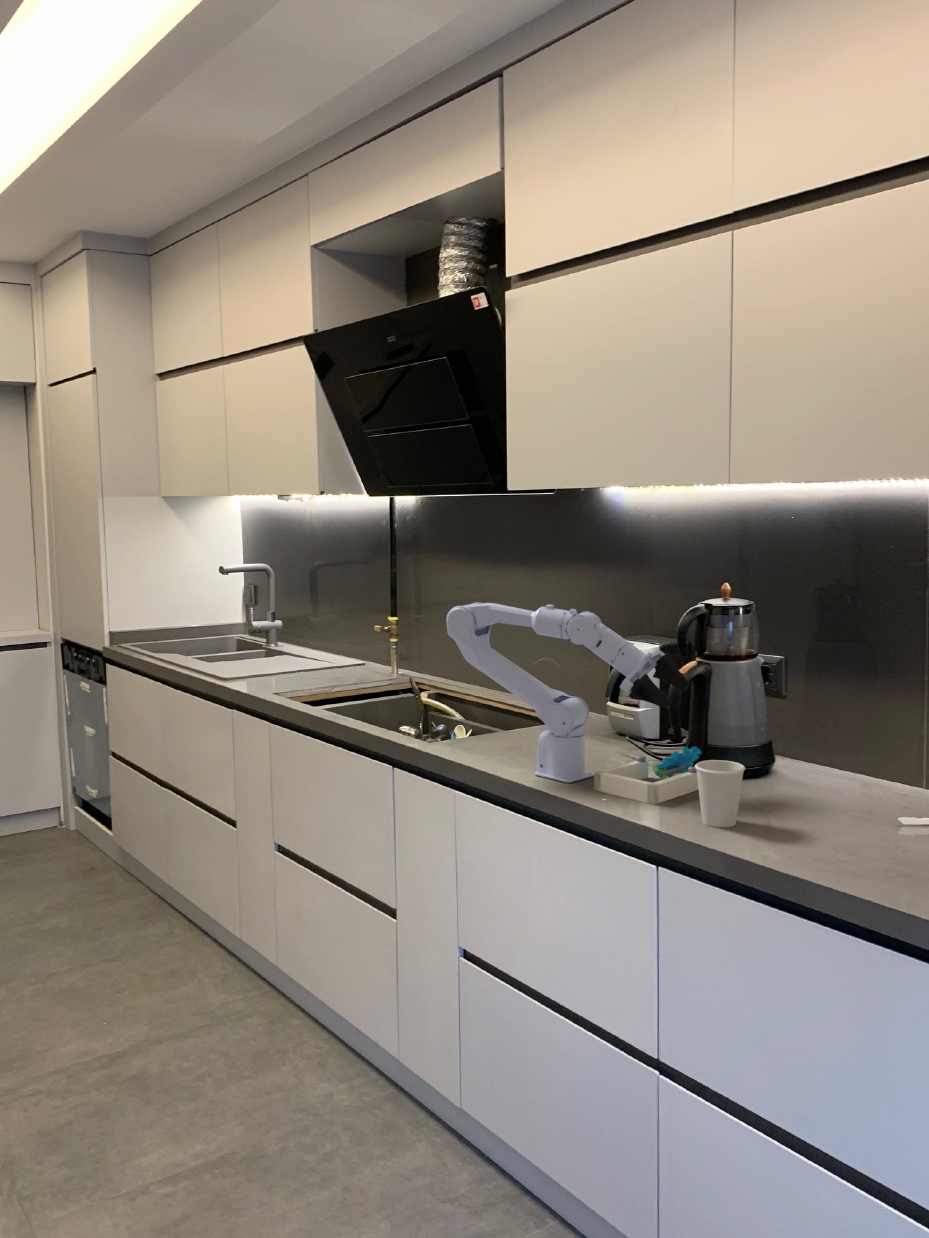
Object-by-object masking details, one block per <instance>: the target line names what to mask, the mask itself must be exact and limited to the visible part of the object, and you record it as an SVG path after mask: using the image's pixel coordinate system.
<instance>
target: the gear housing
mask: <svg viewBox="0 0 929 1238" xmlns="http://www.w3.org/2000/svg"><path fill="white" fill-rule="evenodd" d="M649 761H650V759H649V760H648V759H647V757H646V755H636V756H635V760H634V761H631V762H627V763H623V764H620V765H617V766H613V767H609V768H606V769H602V770H598V771H595V772H594V791H597V792H599V793H605V794H609V795H612V796H616V797H622V798H626V799H628V800H633V801H637V802H642V803H645V804H650V805H653V806H654V805H657V804H660V803H663V802H666V801H669V800H672V799H675V798H677V797H678V798H679V797H681V796H684V795H687V794H690V793H693V792H697V791H699V787H698V778H697V769H696V768H695V766H691V767H688V768H687V770H688V771H686V773H683V774H681V773H679V774H677V775H676V774H675V775H673V776H671V777H667V779H663V778H662V779H660V780H658V781H655V782H651V781H647V780H644V779H647V778H649Z"/></svg>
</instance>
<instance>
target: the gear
mask: <svg viewBox="0 0 929 1238" xmlns="http://www.w3.org/2000/svg"><path fill="white" fill-rule="evenodd" d="M681 751H682V752H681V753H679V752H678V751H676V750H675V751H674V752H672V753H671V754H670V755H671V757H664V758H663V759H662V760H661V762H662V763H660V764H653V765H652V766H651V768H652V770H653V771H654V774H655V775H656V777H659V778H660V779H662V780H663V779H667V778H670V777H673V776H675V775H676V774H683V773H686V772H687V770H686V768H687V767H693V765H694V764H695V763H694V762H696V761H698V760H697V759H698V758H699V757H700V755H702V751H701V749H700V748H698V747H697V746H696V745H695V746H692V747H690V749H689V747H688V746H686V747H684V748H682V749H681ZM698 755H699V756H698ZM699 759H700V758H699Z"/></svg>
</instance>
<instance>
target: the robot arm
mask: <svg viewBox="0 0 929 1238" xmlns="http://www.w3.org/2000/svg"><path fill="white" fill-rule="evenodd" d="M577 611H578V610H577V609H575V608H571V609H569V610H566V609H562V608H561V609H560V608H555V604H546V605H545V606H540V607H539V608H538V609H536V610H535V611H533V610H529V609H524V608H519V607H515V606H508V605H504V604H499V603H493V602H485V603H484V602H479V601H475V602H472V603H470V604H464V605H456V606H454V607H452V608H451V609H450V610H449V611H448V612H447V615H446V620H445V621H446V623H445V624H446V631H447V635H448V636H449V637H450V638H451V639H452V640H454V643H455V644H456V646H457V647H458V649H459V651H460V653H461V654H462V657H463V658H464V659H465V661H466V662H467V663H468V664H470V665H471V666H472V667H474V668H475V669H477V670H478V671H479V672H481V673H483V674H484V675H485V676H487V677H489V678H490V679H492V680H493V681H494V682H496V683H497V684H499V685H500V686H502V687H503V689H506V690H507V691H509V692H510V693H511V694H513V695H514V696H515V697H516V698H519V700H521V701H523V702H524V703H526V704H527V705H528V706H531V708H533V709H534V710H535V714H536V717H537V718H538V719H540V721H542V722H543V723H544V725H545V727H546V730H544V731H543V732H541V733H540V735H539V736H538V739H537V744H536V771H535V772H534V776H539V777H543V778H547V779H551V780H555V781H559V782H563V783H566V784H567V783H570V784H571V783H574V782H576V781H580V780H584V779H588V778H591V777H595V772H594V773H593V772H589V771H586V763H585V762H586V757H585V756H586V730H585V728H584V725H585V724H586V723H587V721H588V719H589V715H590V710H589V707H588V704H587V703H586V701H585V700H584V699H582V698H581V697H579V696H578V697H577V696H571V695H569V694H567V693H565V692H563V691H561V690H558V689H554V688H551V687H549V686H548V685H547V684H545V683H544V682H542V681H540V680H539V679H538V678H536V677H535V676H533V675H532V674H530V673H529V672H527V671H526V670H525V669H523V668H522V667H521V666H519V665H517V664H516V663H514V662H513V661H511V660H510V659H508V658H507V657H505V656H504V655H503V654H501V653H500V652H498V651H496V649H494V648H492V647H491V644H490V636H491V635H490V634H491V627H492V625H495V624H504V625H512V626H519V627H521V626H522V627H529V628H532V629H533V631H534V632H535V634H537V635H540V636H546V637H549V638H550V637H551V638H556V639H562V640H569V639H570V642H571V643H572V644H575V645H580V646H581V645H583V646H584V647H585V648H587V649H589V650H590V651H592V653H593V654H595V655H596V656H597V657H599V658H600V659H602V660H603V661H604V662H606V663H607V664H609V666H611V667H612V668H614V669H615V670H617V671H618V672H619V673H621V674H622V675H623V676H625V678H623V679H624V680H623V681H622V683H621V684H620V685H619V689H621V690H622V691H624V692H625V693H627V694H628V697H629V698H630V699H632V700H637V701H643V702H647V703H651V704H653V705H654V706H658V707H660V708H663V709H665V710H668V708H669V707H670V705H671V703H672V702H673V700H672V698H670V696H668V695H667V694H666V693H665V692H664V691H663V690H661V689H660V688H659V687H658V686H657V685H656V684H655V682H653V680H652V679H651V678H650V676H649V675H648V674H649V673H650V672H651V671H653V669H654V671H655V672H654V673H653V675H652V678H655V679H657V680H661V681H663V682H665V683H667V684H670V685H671V686H673V687H674V688H675V689H678V690H679V691H682V692H686V690H687V689H688V687H689V686H690V682H689V680H688V679H687V678H686V677H685V675H684V674H682V672H681V671H680V670H679V668H678V667H677V665H676V663H675V662H674V660H673V657H672V655H671V654H669V653H668V652H665V653H664V652H663V651H662V650H660V649H657V650H655V651H654V652H650V651H648V652H647V653H645V652H643V651H642V650H640V649H639V648H637V647H636V646H635V645H634V644H632V643H631V642H629V641H628V640H627V639H625V638H624V637H623V636H621V635H619V634H618V633H616V631H614V630H613V629H611V628H609V627H608V626H606V625H605V624H603V622H602V620H601V618H600V617H599V616H598V615H597V614H596V613H594V612H592V611H591V612H590V611H589V610H585V611H582V612H580V613H579V614H578V612H577Z"/></svg>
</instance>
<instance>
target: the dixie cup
mask: <svg viewBox="0 0 929 1238" xmlns="http://www.w3.org/2000/svg"><path fill="white" fill-rule="evenodd" d="M694 767H695V768H696V769H697V778H698V787H699V790H698V796H699V803H700V804H699V805H700V812H701V822H702V823H703V824H704V825H705V826H708V827H712V826H713V828H731V827H734V826H735V825H737V819H738V812H739V811H738V810H739V805H740V797H741V791H742V784H743V777H744V771H745V770H746V767H745V766H744V765H743V764H741V763H739V762H735V761H732V760H731V761H730V760H720V759H719V760H718V759H716V760H715V759H710V760H709V759H708V760H702V761H699V762H697V763H696V764H695V765H694Z"/></svg>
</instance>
